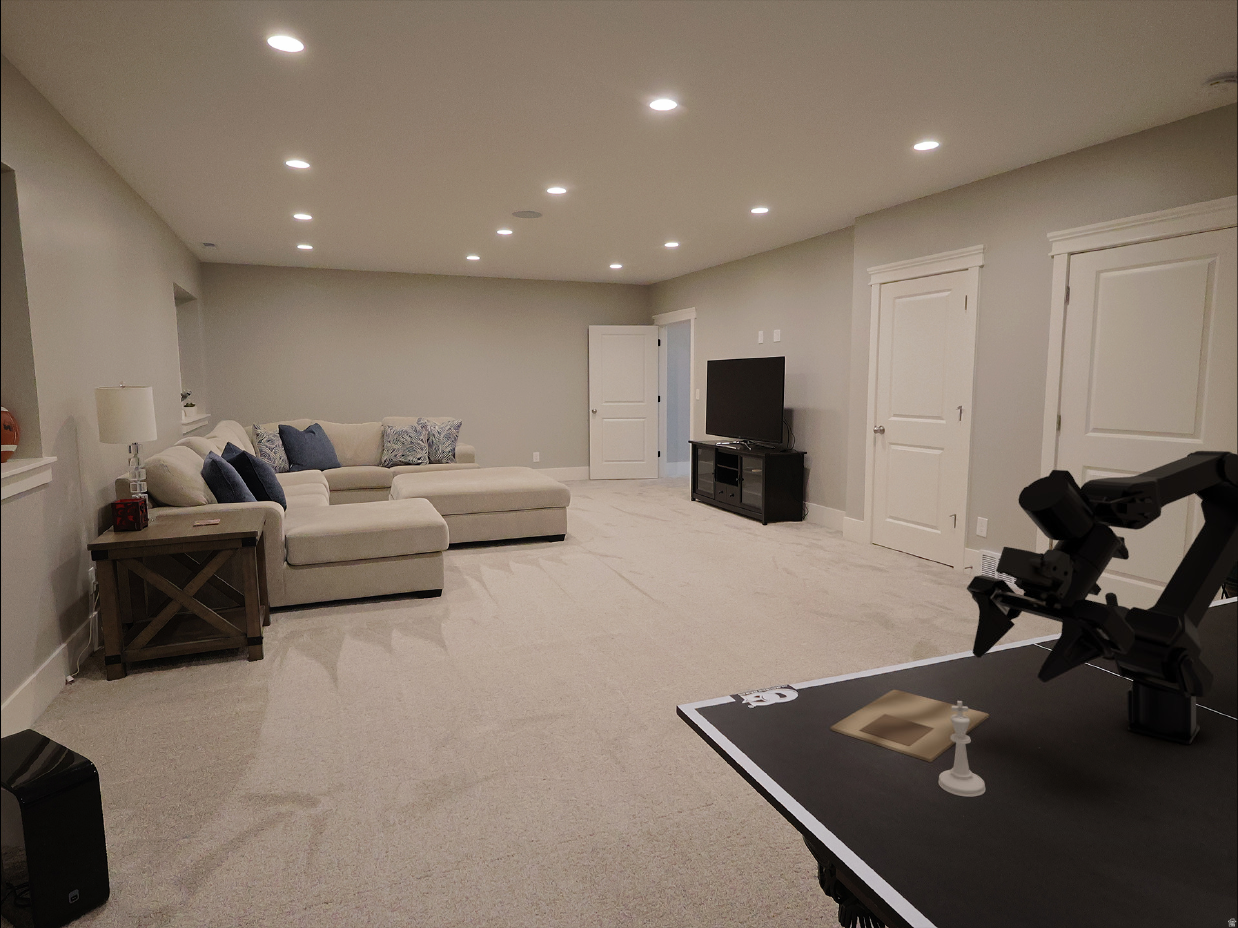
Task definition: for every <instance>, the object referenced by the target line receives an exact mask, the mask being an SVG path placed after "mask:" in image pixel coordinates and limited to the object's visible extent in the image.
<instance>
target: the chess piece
mask: <svg viewBox="0 0 1238 928" xmlns="http://www.w3.org/2000/svg"><path fill="white" fill-rule="evenodd" d="M956 702H957V703H956V706H952V711H958V715H953V716H951V722H952V724H953V727H954V730H955V732H956V733H955V734H952V735H951V740H952V741H954V742H956V743H955V751H954V754H955V755H954V759H953V760H954V762H953V767H952V768H951V769H948V770H944V771H942V772H941V773H940V774H939V776H938V786H940V788H942V789H943V790H944V791H945V792H948V793H949V794H952V795H955V796H958V797H959V796H961V797H967V798H972V797H978V796H982V795H983V794H984V793H985V792H986V785H985V783H986V782H985V781H984V779H982V778H981V776H979V775H978V774H976V773H973V772H972V771H971V770H970V767H969V761H968V755H967V747H966V745H967V744H970V743H971V742H972V741H971V737H970V736H969V735H968V734H966V731H967V728H968V725H969V723H970V719H969V718H968V717H966V716H964V715H963V712H968V709H969V707H968V705H967V706H964V705H963V701H962V700H957V701H956ZM965 734H966V735H965Z"/></svg>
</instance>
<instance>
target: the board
mask: <svg viewBox="0 0 1238 928" xmlns="http://www.w3.org/2000/svg"><path fill="white" fill-rule="evenodd" d="M952 706H957V704H953V703H949V702H945V701H940V700H937V699H932V698H928V697H925V696H921V695H919V694H918V695H917V694H913V693H909V692H906V691H902V690H897V689H893V690H892V689H891V690H890V691H889V692H887V693H885V694H883V695H881V696H880V697H879V698H877V699H875V700H874V701H872V702H870V703H868V704H866V705H865V706H864V707H862V708H860V709H859V710H857V711H854V713H852V714H850V715H849V716H847V717H845V718H843V719H841V720H840V721H838V722H836V723H835V724H833V725H831V726H830V731H833V732H837V733H839V734H842V735H845V736H849V737H852V738H855V739H858V740H861V741H863V742H867V743H870V744H874V745H877V746H880V747H882V748H885V749H889V750H892V751H894V752H897V753H900V754H904V755H907V756H911V757H913V758H915V759H919V760H921V761H925V762H929V763H932V762H933V761H935V760H936V759H937V758H938V757H940V756H941V755H942V754H943V753H945V752H946V751H947V750H948V749H950V748H951V747H952V746H953V745H956V742H954V741H952V740H951V735H952V734H955V733H956V732H955V730H954V727H953V724H952V722H951V716H953V715H958V711H952ZM963 715H964V716H966V717H968V718H969V719H970V723H969V725H968V728H967V731H966V734H965V735H968V734H969V733H971V732H972V731H973V730H974V729H976V727H978V726H980V724H981V723H983V722H984V721H985V720H986V719H988V718H990V714H989V713H987V712H983V711H980V710H975V709H971V708H968V712H963Z"/></svg>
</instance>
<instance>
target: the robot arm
mask: <svg viewBox="0 0 1238 928" xmlns="http://www.w3.org/2000/svg"><path fill="white" fill-rule="evenodd" d="M1194 494H1195V495H1196V496H1197V498H1199V499H1200V500H1201V501H1200V502H1201V503H1200V508H1201V512H1202V515H1203V519H1204V523H1203V526H1202V527H1201V529H1200V530H1199V532H1198V533H1197V535H1196V537H1195V538H1194V540H1193V542H1191V545H1190V546H1189V548H1188V550H1187V551H1186V554H1185V555H1184V556H1183V558H1182V560H1181V561H1180V563H1179V565H1178V567H1176V570H1175V571H1174V573H1173V574H1172V576H1171V577H1170V579H1169V581H1167V584H1166V586H1165V588H1164V589H1163V591H1162V593H1161V594H1160V596H1159V597H1158V599H1157V600H1156V602H1155V604H1154V605H1153V606H1150V607H1149V608H1147V609H1145V608H1141V607H1136V606H1133V607H1131V608H1129V609H1130V610H1129V611H1128V612H1127V614H1126V617H1125V619H1124V618H1123V617H1122V616H1121V615H1120V614H1119V612H1118V611H1117V610H1116V609H1115V608H1114V607H1113V606H1112V605H1107V604H1106V603H1104V602H1103V603H1102V602H1099V601H1098V602H1097V601H1095V600H1094V601H1093V600H1090V599H1087V597H1088V595H1093V596H1099V594H1100V592H1101V591H1102V588H1101V586H1100V585H1099V584H1098V583H1097V582H1098V580H1099V579H1100V578H1101V576H1102V574H1103V573H1104V571H1105V569H1106V568H1107V566H1108V565H1109V564H1110V562H1111V560H1112V559H1113V558H1114V559H1119V560H1125V561H1126V560H1128V559H1129V558H1130V554H1129V549H1128V547H1127V546H1126V543H1125V542H1126V541H1125V537H1124V536H1118V535H1117V534H1116V533H1115V532H1114V530H1113V529H1112V528H1120V529H1128V530H1136V531H1137V530H1141V529H1143V528H1145V527H1147V526H1148V525H1149V524H1151V523H1152V522H1154V521H1155V520H1157V519H1158V518H1160V517H1161V515H1162V509H1163V507H1165V506H1166V505H1169V504H1171V503H1174V502H1176V501H1178V500H1181V499H1184V498H1186V497H1189V496H1193V495H1194ZM1017 501H1018V504H1019V507H1021V508H1022V510H1023V511H1024V512H1025V514H1026V515H1027V516H1028V518H1030V519H1031V521H1032V522H1033V523H1034V524H1035V525H1036V526H1037V528H1038V529H1039V530H1040V532H1041V533H1043V535H1044V536H1045V537H1047V538H1048V539H1050V540H1052V541H1057V542H1056V543H1055V545H1054V547H1053V548H1052V549H1050V548H1049V549H1047V550H1046V551H1045V552H1043V553H1042V552H1041V553H1040V552H1039V553H1038V552H1034V551H1030V550H1026V549H1021V548H1017V547H1016V548H1015V547H1009V546H1003V548H1002V550H1001V555H1000V558H999V561H998V563H997V566H996V570H995V572H997V573H999V574H1005V575H1006V576H1009V577H1012V578H1013V579H1015V581H1014V582H1013V583H1014V585H1016V587H1017V588H1018V589H1019V590H1022V591H1023V593H1022V594H1019V593H1016V592H1015V591H1014V590H1013V588H1011V586H1010V585H1009V584H1008V583H1007V582H1006V581H1005V580H1004V579H1000V578H996V577H991V576H987V575H984V574H981V575H974V577H973V579H972V580H971V581H970V582H969V584H968V586H967V587H966V590H967V592H969V594H971V598H972V599H973V600H974V602H975V603H977V604H976V605H977V606H978V615H979V616H978V621H977V622H978V623H977V626H976V627H977V629H976V632H975V638H974V642H973V648H972V654H973V655H974V656H975V658H977V659H980V658H981V657H982V656H984V655H985V654H986V653H988V652H989V651H990V650H991V649H992V648H993V647H994V646H996V644H997V643H998V642H999V641H1000V640H1001V639H1002V638H1003V637H1005V636H1006V634H1007V633H1008V632H1009V631H1010V630H1011V629H1012V628H1013V627H1014V626H1015V622H1013V621H1012V620H1015V619H1017V618H1019V617H1020V615H1021V614H1022V612H1024V613H1027V614H1031V615H1033V616H1038V617H1042V618H1045V619H1049V620H1053V621H1055V622H1060V623H1061V634H1060V637H1058V639H1057V641H1056V643H1055V644H1054V646H1053V647H1052V649H1051V651H1050V652H1049V654H1048V655H1047V657H1046V659H1045V661H1044V662H1043V663H1042V666H1041V667H1040V670H1039V672H1038V673H1037V678H1038V680H1039V681H1040V682H1042V683H1047V682H1050V681H1051V680H1054V679H1055V678H1058V677H1059V676H1061V675H1063V674H1065V673H1067V672H1069V671H1071V670H1073V669H1076V668H1077V667H1079V666H1081V665H1084V664H1086V663H1090V662H1091V661H1093V660H1096V659H1098V658H1100V657H1104V655H1105V656H1112V655H1114V657H1113V658H1114V662H1115V664H1116V668H1117V672H1118V675H1119V677H1121V678H1125V679H1130V680H1132V681H1131V687H1130V688H1129V689H1128V690H1127V691H1126V704H1127V705H1126V709H1127V710H1126V712H1127V714H1126V719H1127V721H1128V722H1130V723H1129V724H1128V729H1127V730H1129V731H1131V732H1135V733H1140V734H1144V735H1147V736H1152V737H1156V738H1159V739H1164V740H1167V741H1168V740H1169V741H1172V742H1177V743H1181V744H1186V745H1190V744H1192V742H1193V741H1194V739H1195V738H1196V736H1197V734H1198V732H1199V731H1200V726H1201V725H1200V724H1198V723H1197V698H1198V697H1199V698H1205V697H1206V696H1207V693H1210V692H1211V690H1212V687H1213V682H1214V674H1213V673H1212V672H1211V671H1210V669H1209V668H1208V667H1207V666H1206V664H1205V663H1204V662H1203V661H1202V660H1201V659H1200V655H1201V654H1202V651H1203V650H1202V645H1201V641H1200V637H1199V632H1198V627H1199V625H1200V623H1201V621H1202V620H1203V618H1204V616H1205V615H1206V613H1207V611H1208V609H1209V608H1210V607H1211V605H1212V603H1213V602H1214V600H1215V598H1216V596H1217V595H1218V593H1219V591H1220V590H1221V587H1223V584H1224V582H1225V581H1226V579H1227V578H1228V576H1229V575H1230V572H1231V570H1232V569H1233V568H1234V566H1235V564H1236V563H1237V561H1238V454H1237V453H1233V452H1232V451H1229V450H1228V451H1226V450H1225V451H1223V450H1221V451H1220V450H1196V451H1194V452H1189V453H1188V454H1187V456H1185V457H1182V458H1179V459H1177V460H1174V461H1171V462H1169V463H1165V464H1163V465H1161V466H1158V467H1155V468H1152V469H1150V470H1147V471H1144V472H1142V473H1140V474H1137V475H1133V476H1132V475H1131V476H1123V477H1119V476H1117V477H1103V478H1095V479H1090V480H1087V481H1086V482H1085V483H1083V484H1082V486H1081V487H1080V485H1079V484H1078V483H1077V482H1076V480H1075V478H1074V477H1073V474H1072V473H1071V472H1070V471H1069V470H1067V469H1066V470H1064V469H1052V470H1051V472H1050V473H1049V475H1048V476H1044V477H1041V478H1038V479H1037V480H1034V481H1033V482H1031V483H1030V484H1028V486H1025V487H1024V488H1023V489H1022V490H1021V491H1020V493H1019V497H1018V499H1017ZM1111 527H1112V528H1111Z"/></svg>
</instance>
